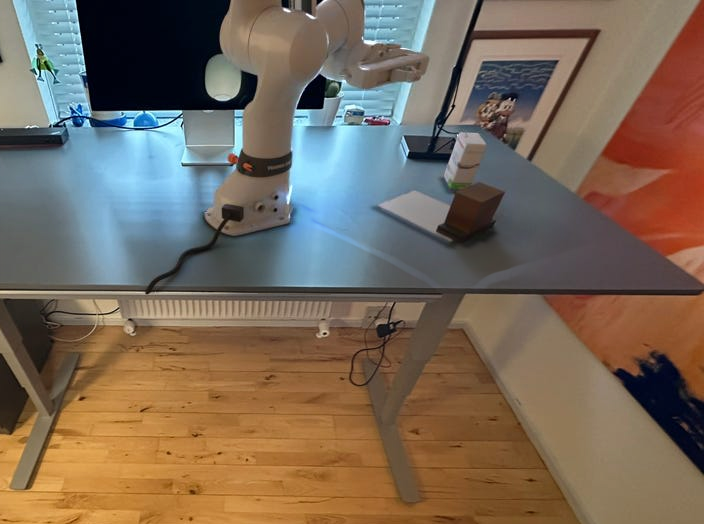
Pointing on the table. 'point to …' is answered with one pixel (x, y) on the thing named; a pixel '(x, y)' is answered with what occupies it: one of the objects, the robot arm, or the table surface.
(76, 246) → the table surface
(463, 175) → the ink box
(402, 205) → the whiteboard
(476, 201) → the eraser
